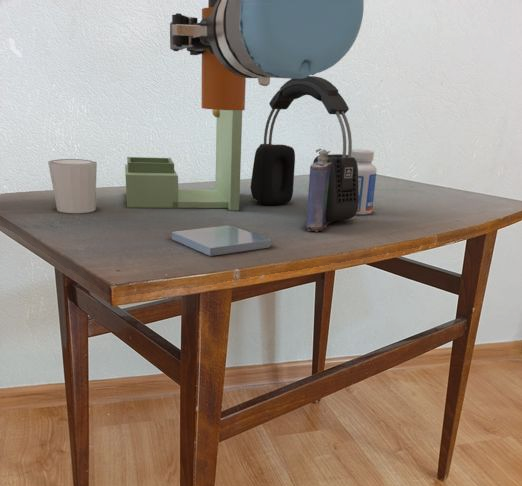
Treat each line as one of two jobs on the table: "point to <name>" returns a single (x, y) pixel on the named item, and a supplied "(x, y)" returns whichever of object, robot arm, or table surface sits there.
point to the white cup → (74, 184)
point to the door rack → (166, 179)
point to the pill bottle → (365, 180)
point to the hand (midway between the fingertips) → (217, 43)
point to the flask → (318, 192)
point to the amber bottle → (220, 80)
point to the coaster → (220, 240)
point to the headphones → (343, 166)
